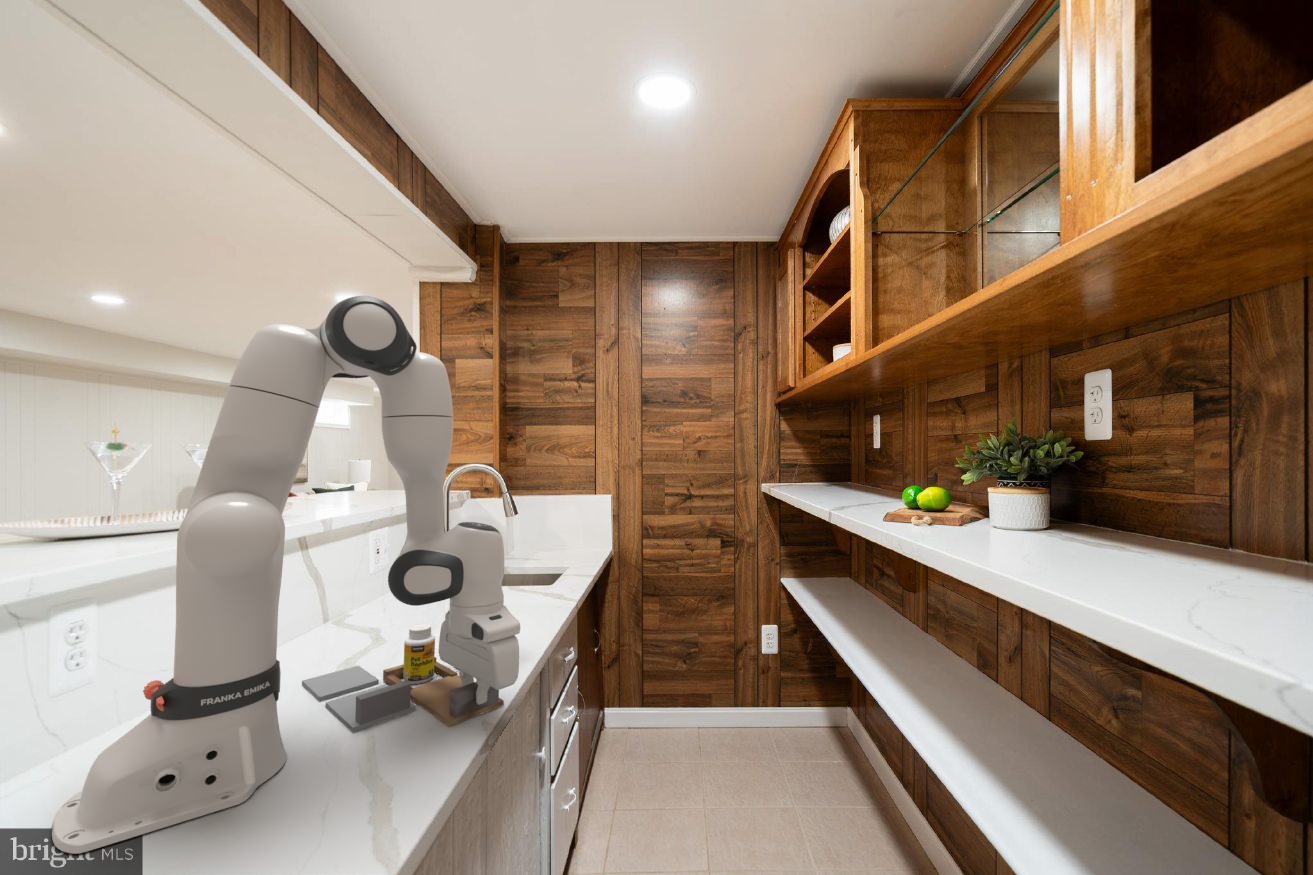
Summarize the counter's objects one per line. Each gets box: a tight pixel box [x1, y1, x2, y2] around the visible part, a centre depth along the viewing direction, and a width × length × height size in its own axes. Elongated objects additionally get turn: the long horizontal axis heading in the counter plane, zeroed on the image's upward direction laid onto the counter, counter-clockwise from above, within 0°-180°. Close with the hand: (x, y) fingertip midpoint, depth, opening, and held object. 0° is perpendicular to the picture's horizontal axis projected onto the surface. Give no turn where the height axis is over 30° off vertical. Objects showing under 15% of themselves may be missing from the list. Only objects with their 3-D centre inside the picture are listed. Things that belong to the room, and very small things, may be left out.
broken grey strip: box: [301, 665, 417, 734], centre depth 96 cm, size 10×26×5 cm, turn 49°
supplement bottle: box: [402, 623, 436, 685], centre depth 104 cm, size 6×6×10 cm
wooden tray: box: [382, 656, 505, 727], centre depth 98 cm, size 10×26×5 cm, turn 49°
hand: (474, 699), depth 90 cm, fingers closed on wooden tray, 2 cm apart
